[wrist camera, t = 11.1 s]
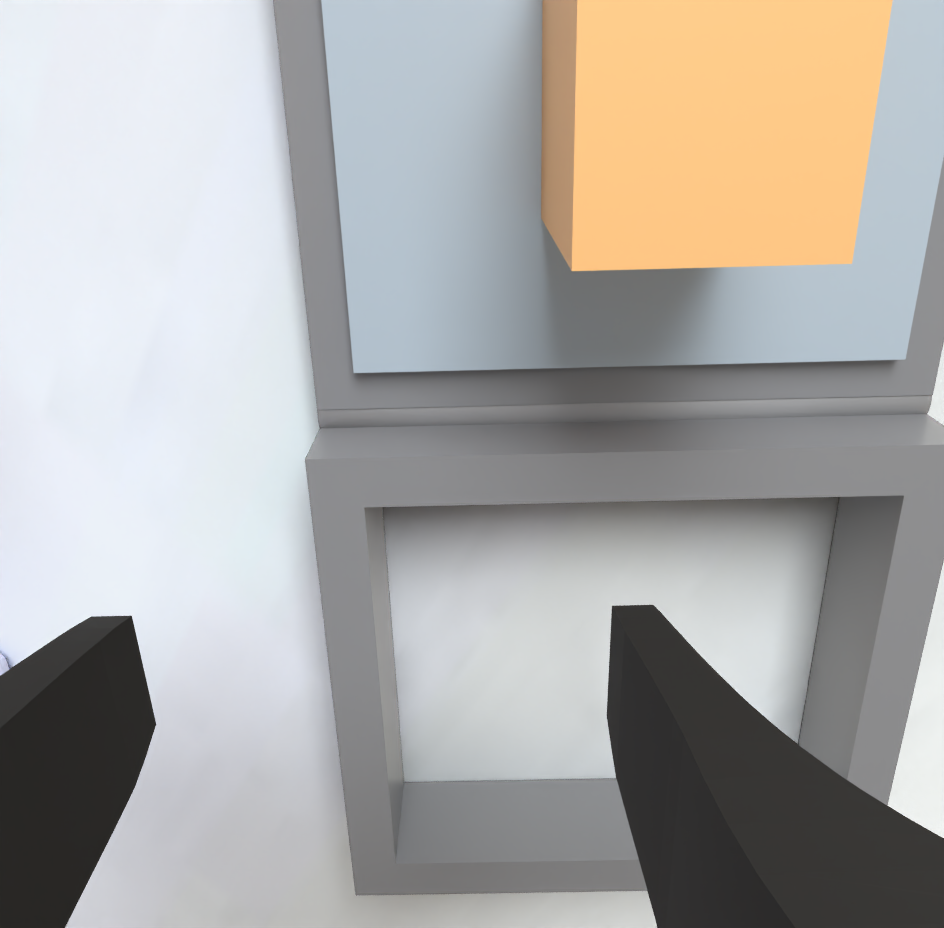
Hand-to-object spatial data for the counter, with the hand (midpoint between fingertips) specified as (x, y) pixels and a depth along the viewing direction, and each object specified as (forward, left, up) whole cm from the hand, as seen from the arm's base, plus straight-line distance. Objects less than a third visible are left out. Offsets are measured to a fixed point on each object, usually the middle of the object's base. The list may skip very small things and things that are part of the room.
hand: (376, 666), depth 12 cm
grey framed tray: (+5, +1, -9) cm, 11 cm away
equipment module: (+5, +8, -8) cm, 12 cm away
